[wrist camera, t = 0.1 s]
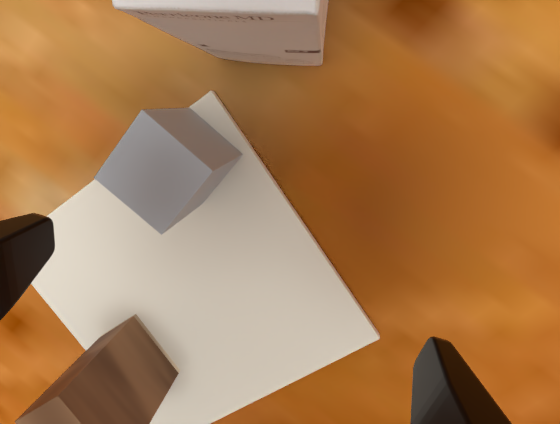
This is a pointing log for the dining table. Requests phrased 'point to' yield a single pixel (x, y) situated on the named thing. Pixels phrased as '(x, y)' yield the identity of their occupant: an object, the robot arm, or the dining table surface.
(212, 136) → the blue-grey block
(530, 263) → the dining table surface
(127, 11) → the skincare box
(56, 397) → the walnut block
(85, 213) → the mat
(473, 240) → the dining table surface
